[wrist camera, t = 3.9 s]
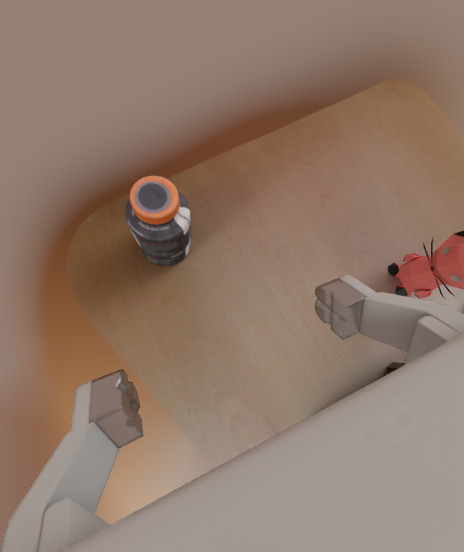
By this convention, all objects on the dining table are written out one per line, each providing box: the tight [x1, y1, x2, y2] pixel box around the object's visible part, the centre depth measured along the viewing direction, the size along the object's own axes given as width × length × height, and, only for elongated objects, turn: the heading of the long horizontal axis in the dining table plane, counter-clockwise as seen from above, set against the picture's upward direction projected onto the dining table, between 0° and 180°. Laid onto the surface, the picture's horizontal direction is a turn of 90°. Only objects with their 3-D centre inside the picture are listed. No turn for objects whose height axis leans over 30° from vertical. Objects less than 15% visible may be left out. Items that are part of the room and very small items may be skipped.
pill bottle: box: [125, 176, 190, 266], centre depth 27 cm, size 6×6×11 cm
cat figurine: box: [388, 231, 464, 299], centre depth 31 cm, size 7×7×12 cm
